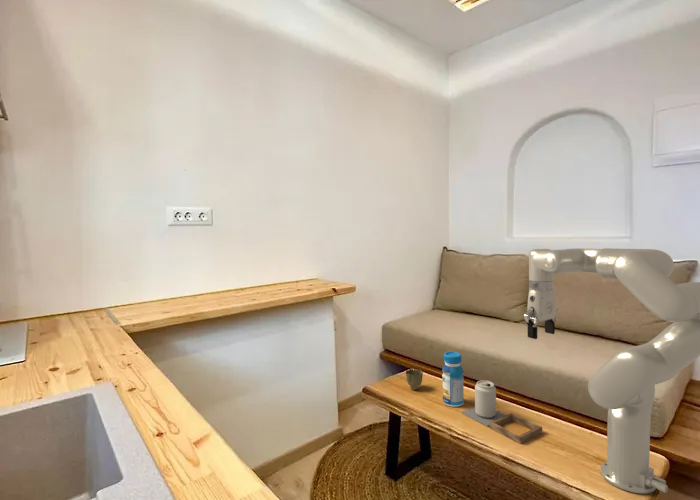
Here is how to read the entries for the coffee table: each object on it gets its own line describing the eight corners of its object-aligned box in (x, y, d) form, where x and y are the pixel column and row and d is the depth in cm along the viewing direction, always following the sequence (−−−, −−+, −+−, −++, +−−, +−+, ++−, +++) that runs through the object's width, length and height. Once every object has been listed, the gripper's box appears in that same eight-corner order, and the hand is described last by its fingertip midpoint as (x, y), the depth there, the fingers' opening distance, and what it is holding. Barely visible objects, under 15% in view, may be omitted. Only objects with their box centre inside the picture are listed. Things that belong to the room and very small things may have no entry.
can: (497, 420, 140) (497, 387, 140) (476, 418, 142) (475, 386, 141) (494, 410, 148) (494, 379, 147) (474, 409, 149) (473, 378, 149)
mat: (509, 417, 143) (509, 416, 143) (487, 426, 137) (487, 425, 137) (482, 404, 153) (482, 403, 153) (461, 413, 147) (461, 412, 147)
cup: (403, 386, 173) (403, 368, 173) (419, 384, 174) (419, 367, 174) (409, 393, 166) (409, 375, 165) (425, 391, 167) (425, 373, 167)
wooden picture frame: (542, 432, 132) (542, 427, 132) (520, 443, 126) (520, 437, 126) (511, 418, 142) (511, 413, 142) (489, 427, 136) (489, 422, 136)
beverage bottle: (460, 409, 150) (460, 358, 149) (439, 404, 155) (438, 355, 153) (466, 400, 157) (466, 352, 156) (446, 396, 162) (445, 349, 161)
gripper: (535, 289, 123) (536, 342, 124) (566, 284, 131) (566, 333, 132) (515, 287, 129) (515, 337, 130) (545, 281, 138) (545, 329, 139)
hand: (541, 335), depth 131 cm, fingers open, 9 cm apart
